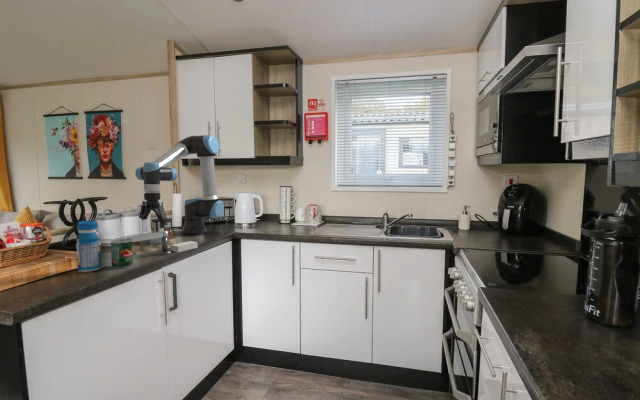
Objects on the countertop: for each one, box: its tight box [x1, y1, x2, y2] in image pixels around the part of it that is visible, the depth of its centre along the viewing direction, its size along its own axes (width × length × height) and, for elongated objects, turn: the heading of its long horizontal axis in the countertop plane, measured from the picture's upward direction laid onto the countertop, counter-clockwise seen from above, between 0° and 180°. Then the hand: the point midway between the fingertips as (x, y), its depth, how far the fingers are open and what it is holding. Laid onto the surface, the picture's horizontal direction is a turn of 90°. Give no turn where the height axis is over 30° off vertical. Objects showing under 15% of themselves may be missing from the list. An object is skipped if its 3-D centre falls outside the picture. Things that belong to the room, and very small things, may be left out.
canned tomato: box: [110, 238, 134, 269], centre depth 140 cm, size 8×8×11 cm
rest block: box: [170, 240, 199, 253], centre depth 171 cm, size 12×6×3 cm, turn 150°
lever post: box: [158, 237, 173, 256], centre depth 162 cm, size 6×6×8 cm
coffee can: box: [150, 217, 172, 233], centre depth 185 cm, size 10×10×14 cm
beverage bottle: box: [75, 220, 102, 273], centre depth 134 cm, size 8×8×20 cm
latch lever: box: [126, 231, 168, 243], centre depth 155 cm, size 19×3×2 cm, turn 143°
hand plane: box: [132, 231, 177, 256], centre depth 169 cm, size 22×6×8 cm, turn 150°
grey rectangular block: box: [141, 238, 162, 245], centre depth 169 cm, size 10×8×4 cm
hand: (153, 233), depth 169 cm, fingers open, 13 cm apart
